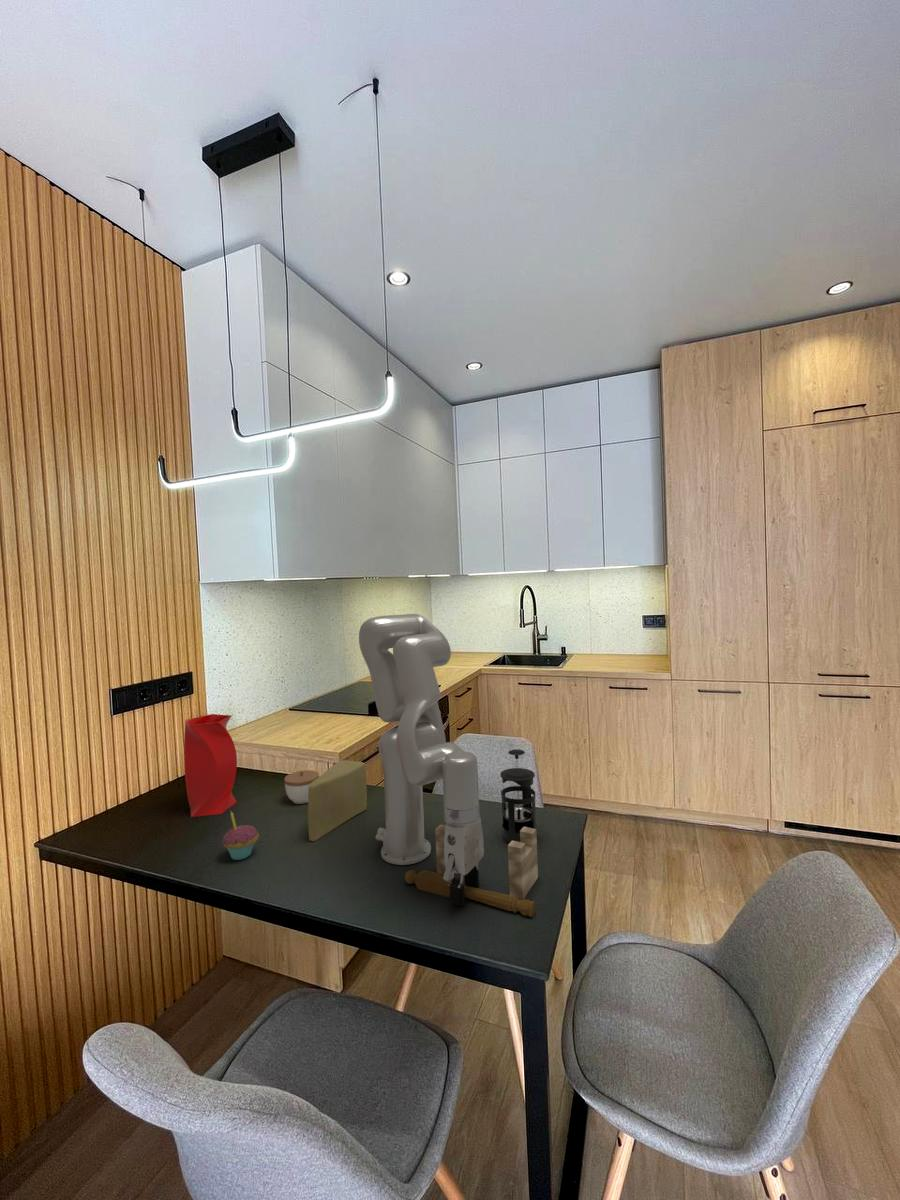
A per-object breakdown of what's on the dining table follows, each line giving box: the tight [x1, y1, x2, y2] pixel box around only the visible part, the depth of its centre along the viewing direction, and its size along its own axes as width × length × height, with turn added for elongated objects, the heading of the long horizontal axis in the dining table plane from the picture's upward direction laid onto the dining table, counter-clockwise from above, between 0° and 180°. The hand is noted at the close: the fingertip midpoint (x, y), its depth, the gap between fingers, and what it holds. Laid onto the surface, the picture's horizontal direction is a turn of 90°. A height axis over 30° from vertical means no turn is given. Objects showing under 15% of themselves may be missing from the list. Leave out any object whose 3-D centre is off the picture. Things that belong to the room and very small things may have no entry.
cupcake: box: [221, 810, 260, 861], centre depth 130 cm, size 9×8×12 cm
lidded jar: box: [283, 769, 320, 805], centre depth 163 cm, size 11×11×9 cm
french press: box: [500, 749, 539, 845], centre depth 133 cm, size 12×9×23 cm
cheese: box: [307, 759, 368, 842], centre depth 145 cm, size 22×10×15 cm, turn 159°
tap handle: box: [404, 869, 536, 918], centre depth 108 cm, size 3×3×30 cm
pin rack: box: [434, 823, 539, 900], centre depth 116 cm, size 21×9×11 cm, turn 61°
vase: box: [183, 713, 238, 818], centre depth 159 cm, size 15×14×28 cm
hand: (465, 894), depth 108 cm, fingers open, 5 cm apart
